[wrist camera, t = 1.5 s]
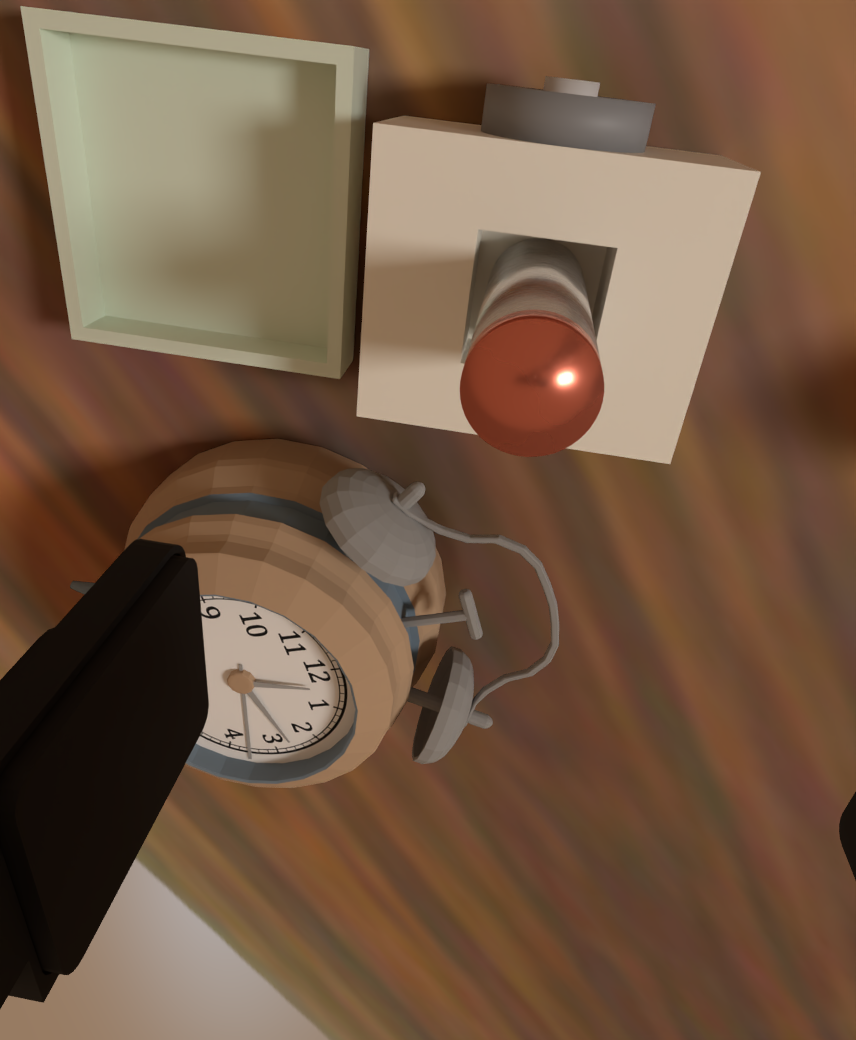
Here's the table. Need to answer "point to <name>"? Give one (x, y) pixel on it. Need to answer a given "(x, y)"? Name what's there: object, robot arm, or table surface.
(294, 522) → the alarm clock
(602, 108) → the block
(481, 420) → the pin
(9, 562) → the table surface
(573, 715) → the table surface
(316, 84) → the tray
